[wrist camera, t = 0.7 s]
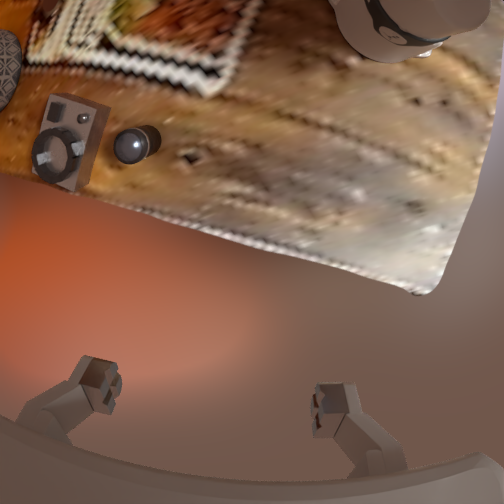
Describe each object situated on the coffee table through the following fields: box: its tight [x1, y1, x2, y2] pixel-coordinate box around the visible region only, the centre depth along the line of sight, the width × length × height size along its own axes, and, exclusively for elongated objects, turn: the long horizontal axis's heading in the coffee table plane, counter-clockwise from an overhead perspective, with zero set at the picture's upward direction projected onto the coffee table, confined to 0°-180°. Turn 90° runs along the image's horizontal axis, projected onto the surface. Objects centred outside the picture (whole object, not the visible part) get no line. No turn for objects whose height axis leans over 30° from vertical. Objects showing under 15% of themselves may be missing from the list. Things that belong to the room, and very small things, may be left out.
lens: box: [114, 125, 161, 164], centre depth 43 cm, size 5×5×7 cm
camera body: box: [32, 93, 111, 192], centre depth 43 cm, size 14×10×7 cm
